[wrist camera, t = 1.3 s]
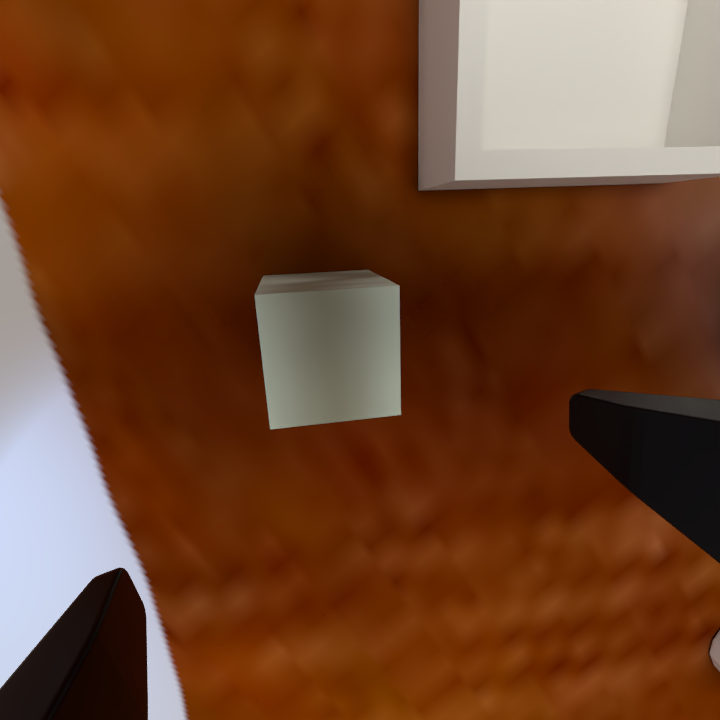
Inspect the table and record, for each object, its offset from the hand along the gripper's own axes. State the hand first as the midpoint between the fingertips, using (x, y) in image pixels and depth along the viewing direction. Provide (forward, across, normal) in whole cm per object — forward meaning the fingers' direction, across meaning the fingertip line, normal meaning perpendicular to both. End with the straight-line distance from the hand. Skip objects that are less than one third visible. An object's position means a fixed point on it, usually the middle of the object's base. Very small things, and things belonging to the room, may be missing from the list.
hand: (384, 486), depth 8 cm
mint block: (+14, -2, 0) cm, 14 cm away
